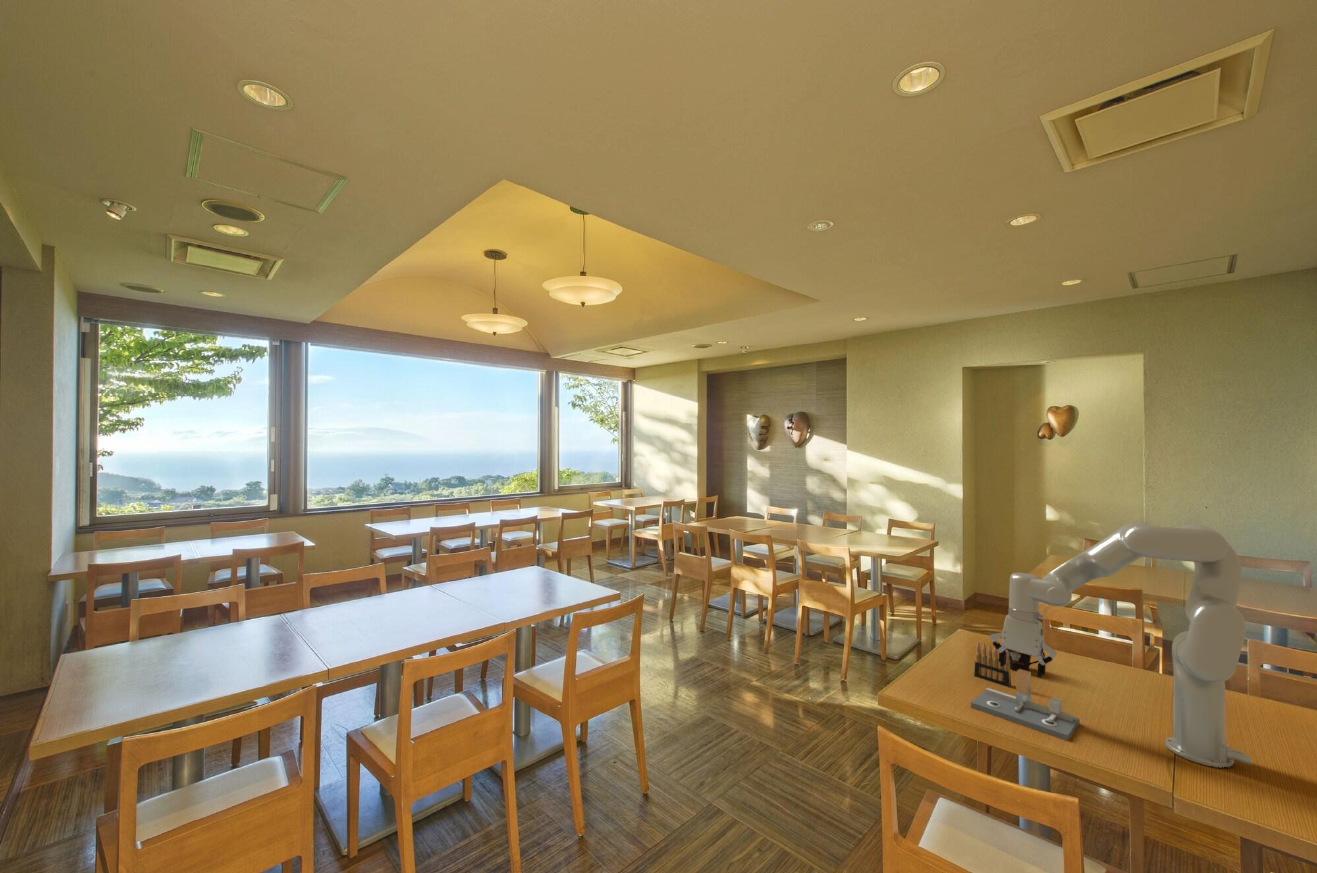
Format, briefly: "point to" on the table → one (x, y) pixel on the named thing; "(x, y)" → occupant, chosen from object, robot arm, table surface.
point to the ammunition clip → (992, 666)
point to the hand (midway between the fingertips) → (1021, 670)
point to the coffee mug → (1020, 660)
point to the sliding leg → (1023, 688)
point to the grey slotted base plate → (1028, 713)
